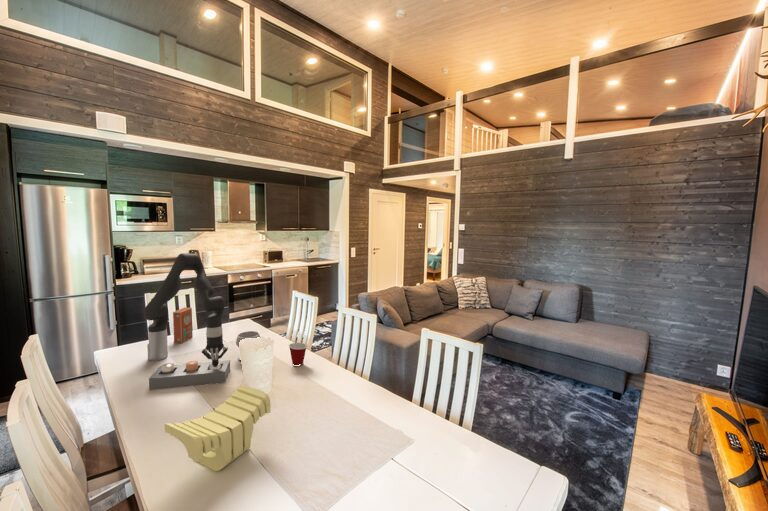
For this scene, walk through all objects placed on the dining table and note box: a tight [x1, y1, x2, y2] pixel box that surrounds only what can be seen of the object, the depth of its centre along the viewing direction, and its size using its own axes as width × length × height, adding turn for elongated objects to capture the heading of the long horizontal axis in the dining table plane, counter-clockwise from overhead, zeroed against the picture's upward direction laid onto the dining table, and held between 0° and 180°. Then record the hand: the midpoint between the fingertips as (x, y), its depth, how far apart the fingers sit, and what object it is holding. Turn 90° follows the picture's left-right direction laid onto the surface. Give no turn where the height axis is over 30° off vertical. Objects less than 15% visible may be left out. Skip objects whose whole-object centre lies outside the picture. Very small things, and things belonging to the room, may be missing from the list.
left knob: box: [160, 362, 175, 374], centre depth 169 cm, size 6×6×5 cm
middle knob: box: [185, 360, 199, 372], centre depth 172 cm, size 6×6×5 cm
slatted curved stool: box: [164, 383, 271, 472], centre depth 117 cm, size 30×16×18 cm, turn 154°
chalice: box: [235, 330, 261, 362], centre depth 201 cm, size 14×14×15 cm
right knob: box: [209, 364, 221, 370], centre depth 175 cm, size 6×6×5 cm
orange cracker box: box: [172, 307, 194, 344], centre depth 227 cm, size 21×7×15 cm
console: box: [148, 359, 231, 391], centre depth 172 cm, size 34×15×6 cm, turn 106°
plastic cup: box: [288, 342, 308, 365], centre depth 193 cm, size 11×11×12 cm
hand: (215, 365), depth 175 cm, fingers closed
